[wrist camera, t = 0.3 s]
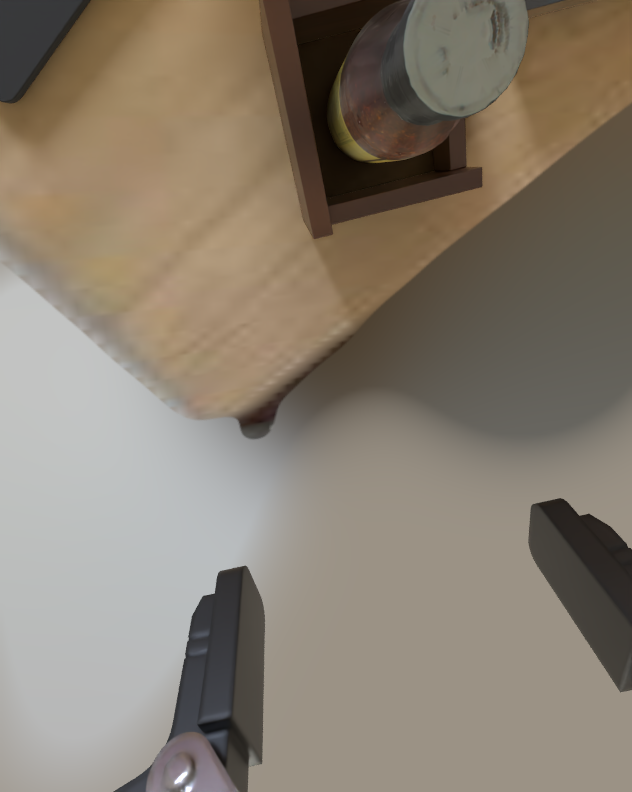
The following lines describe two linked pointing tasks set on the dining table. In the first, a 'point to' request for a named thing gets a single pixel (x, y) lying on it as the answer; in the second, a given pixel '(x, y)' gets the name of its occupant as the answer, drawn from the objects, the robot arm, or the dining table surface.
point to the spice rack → (282, 31)
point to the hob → (550, 6)
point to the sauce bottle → (423, 74)
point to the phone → (31, 39)
